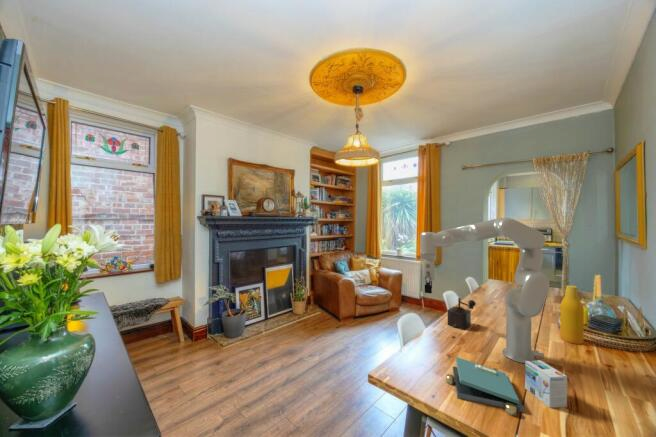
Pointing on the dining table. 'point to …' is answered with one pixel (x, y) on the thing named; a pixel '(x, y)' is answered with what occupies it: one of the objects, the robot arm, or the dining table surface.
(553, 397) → the light bulb box
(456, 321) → the black box
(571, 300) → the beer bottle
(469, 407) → the dining table surface
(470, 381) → the plate
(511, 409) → the base
